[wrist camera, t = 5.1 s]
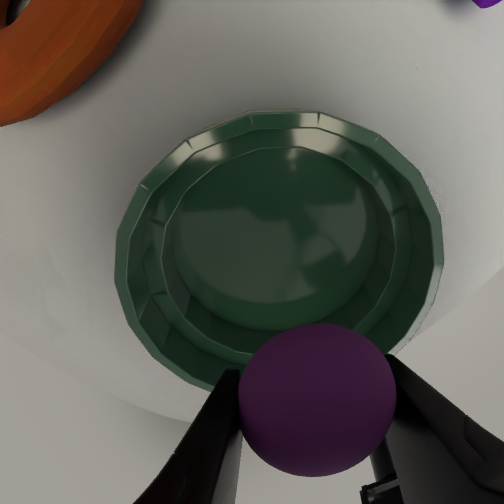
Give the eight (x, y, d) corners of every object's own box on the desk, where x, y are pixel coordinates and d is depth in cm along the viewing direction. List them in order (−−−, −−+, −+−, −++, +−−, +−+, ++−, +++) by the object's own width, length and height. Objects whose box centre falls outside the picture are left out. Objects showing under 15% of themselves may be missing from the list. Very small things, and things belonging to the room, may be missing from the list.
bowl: (379, 332, 20) (404, 385, 16) (173, 345, 20) (158, 403, 16) (407, 114, 14) (463, 125, 9) (129, 124, 14) (82, 136, 9)
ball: (358, 382, 11) (388, 482, 7) (242, 393, 11) (241, 501, 7) (381, 286, 9) (446, 401, 5) (231, 296, 9) (222, 434, 5)
